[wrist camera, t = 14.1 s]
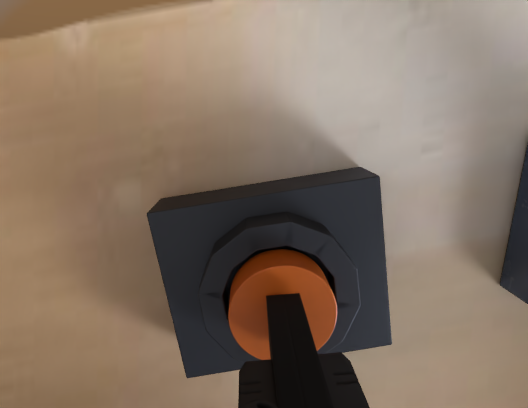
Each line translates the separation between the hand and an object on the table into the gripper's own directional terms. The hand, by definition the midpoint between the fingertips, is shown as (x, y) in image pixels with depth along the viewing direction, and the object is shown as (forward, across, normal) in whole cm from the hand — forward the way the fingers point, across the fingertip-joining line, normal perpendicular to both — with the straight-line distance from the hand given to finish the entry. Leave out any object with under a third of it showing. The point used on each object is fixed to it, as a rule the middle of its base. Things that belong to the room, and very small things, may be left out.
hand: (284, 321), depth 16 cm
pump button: (+2, 0, 0) cm, 2 cm away
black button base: (+7, 0, 0) cm, 7 cm away
